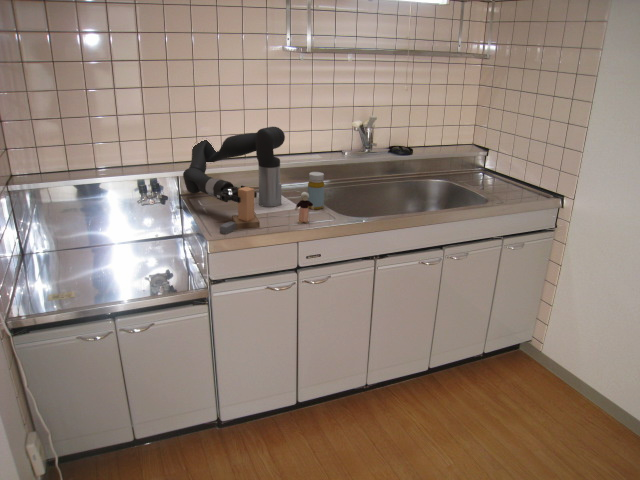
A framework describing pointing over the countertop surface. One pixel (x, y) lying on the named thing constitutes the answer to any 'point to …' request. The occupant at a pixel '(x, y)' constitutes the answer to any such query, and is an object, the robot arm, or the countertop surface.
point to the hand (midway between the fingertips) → (248, 197)
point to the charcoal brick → (228, 227)
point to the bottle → (316, 190)
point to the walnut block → (246, 223)
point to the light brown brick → (246, 204)
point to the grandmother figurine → (304, 208)
